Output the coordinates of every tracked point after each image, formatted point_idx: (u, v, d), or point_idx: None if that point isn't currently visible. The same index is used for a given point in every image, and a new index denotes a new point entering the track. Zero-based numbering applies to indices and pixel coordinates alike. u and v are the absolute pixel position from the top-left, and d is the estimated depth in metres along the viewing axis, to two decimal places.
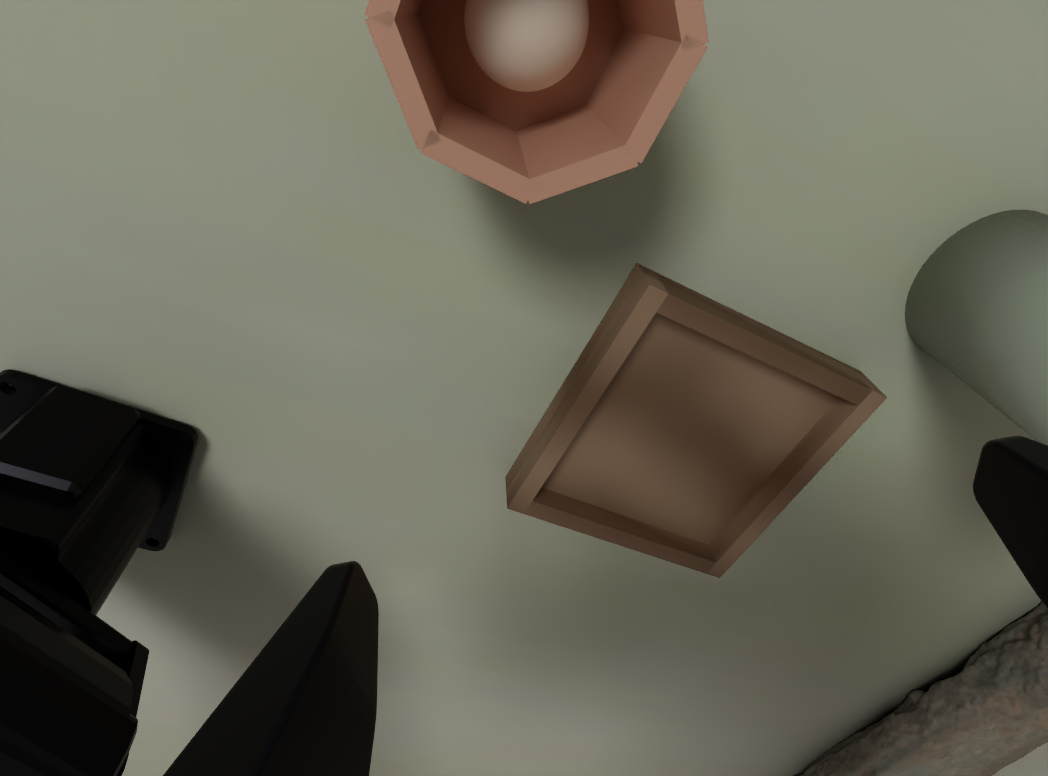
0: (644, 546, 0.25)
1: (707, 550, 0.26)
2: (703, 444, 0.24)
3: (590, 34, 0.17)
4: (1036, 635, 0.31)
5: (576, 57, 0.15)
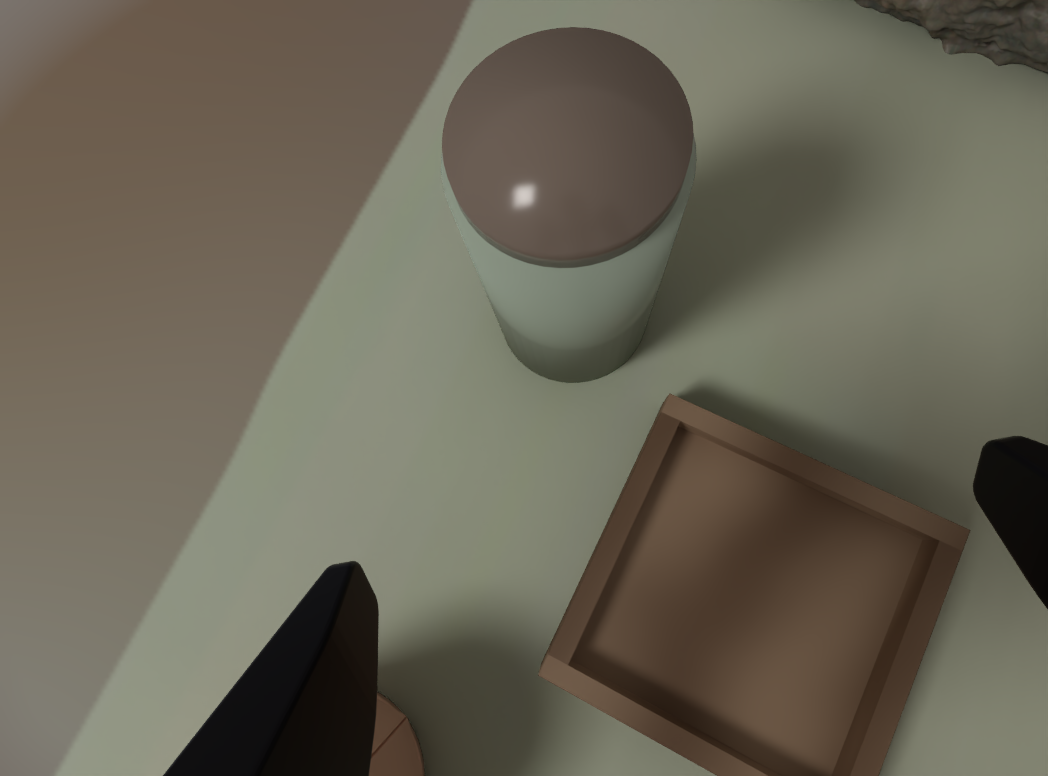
0: (913, 647, 0.19)
1: (926, 545, 0.20)
2: (752, 572, 0.21)
3: None
4: None
5: None
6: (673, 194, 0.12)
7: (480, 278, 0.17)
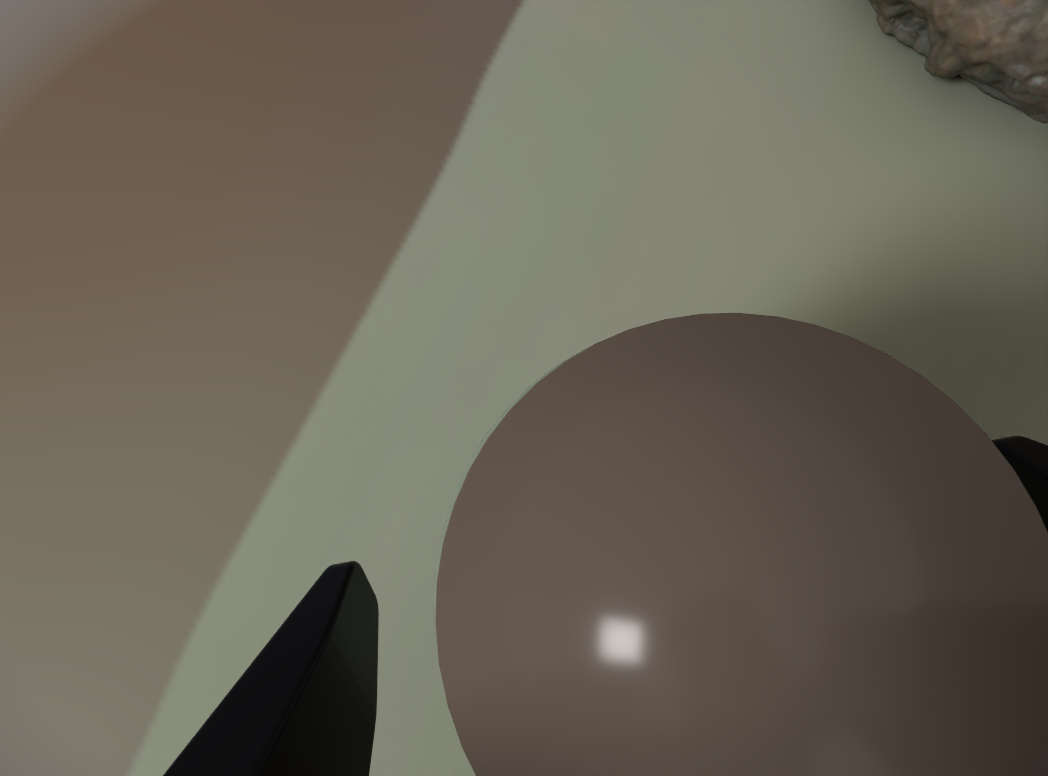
0: None
1: None
2: None
3: None
4: None
5: None
6: None
7: None
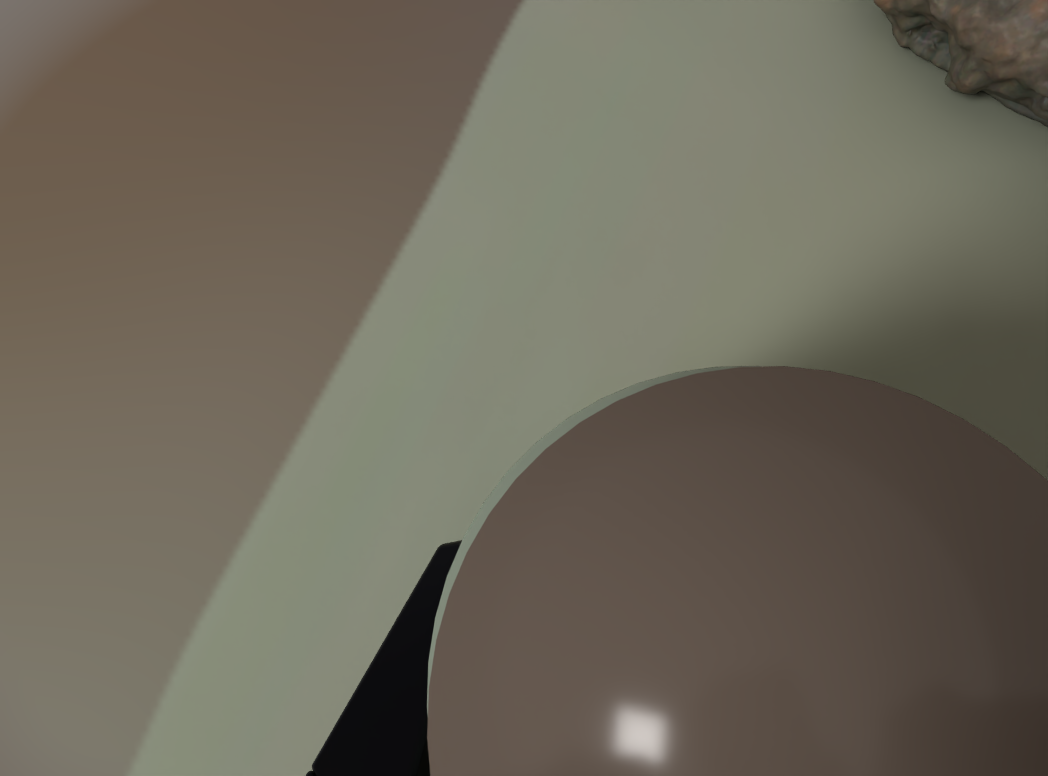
0: None
1: None
2: None
3: None
4: None
5: None
6: None
7: None
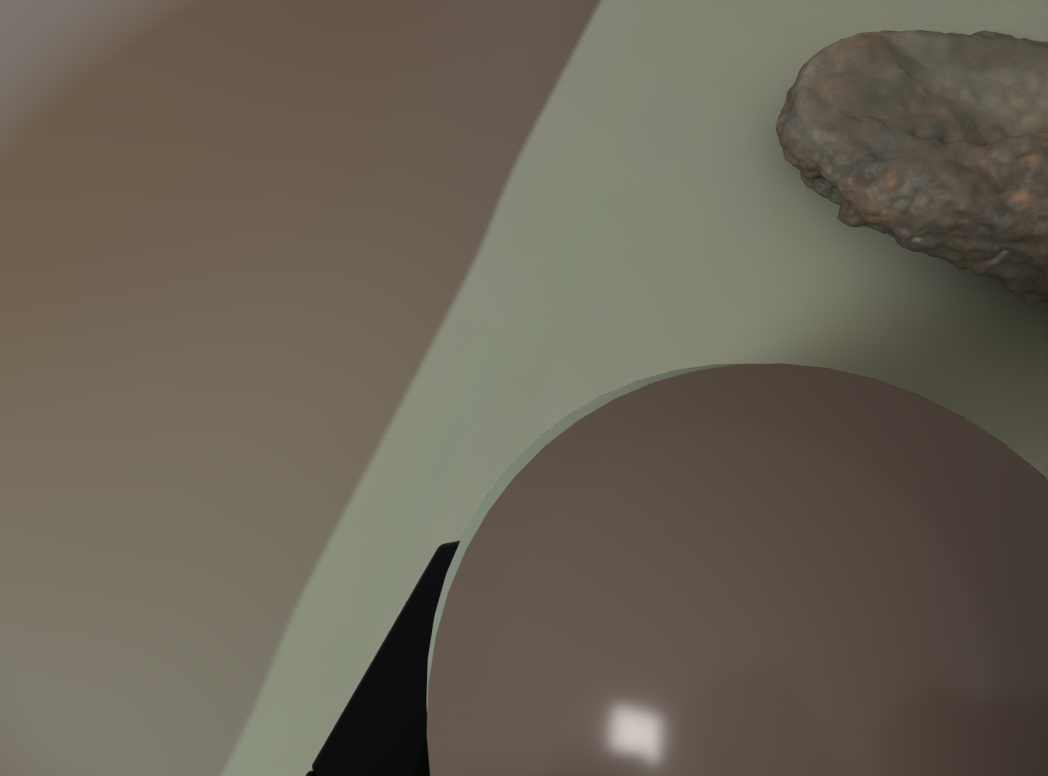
0: None
1: None
2: None
3: None
4: None
5: None
6: None
7: None
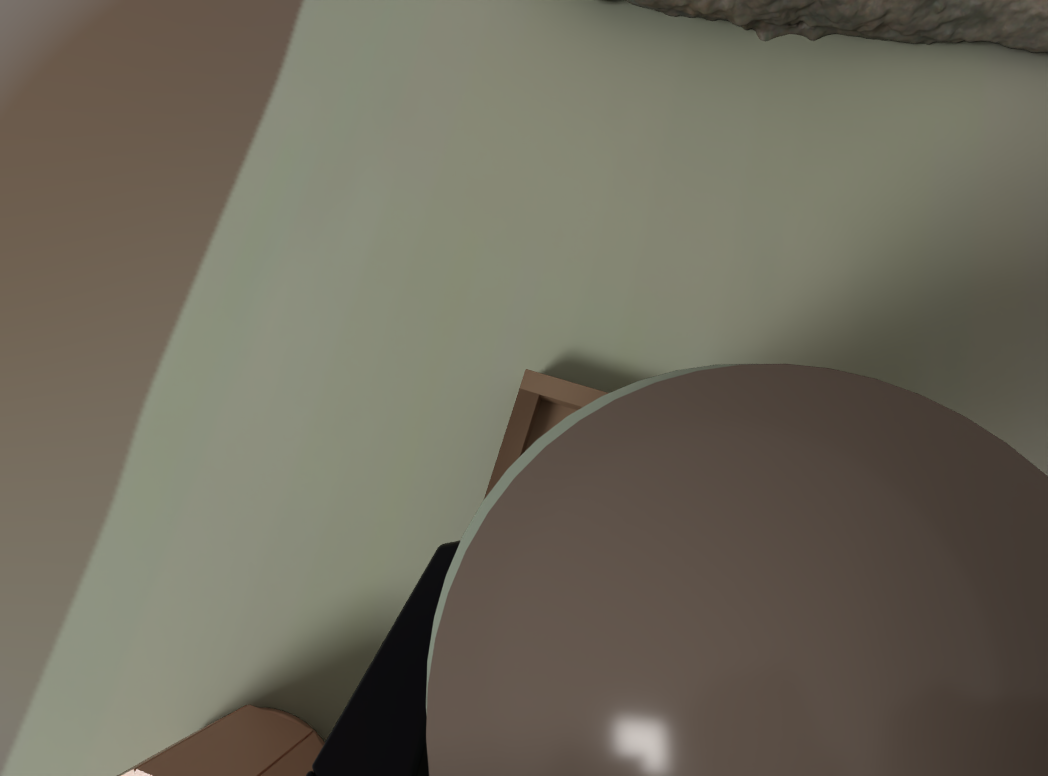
0: None
1: None
2: None
3: None
4: (872, 24, 0.23)
5: None
6: None
7: None
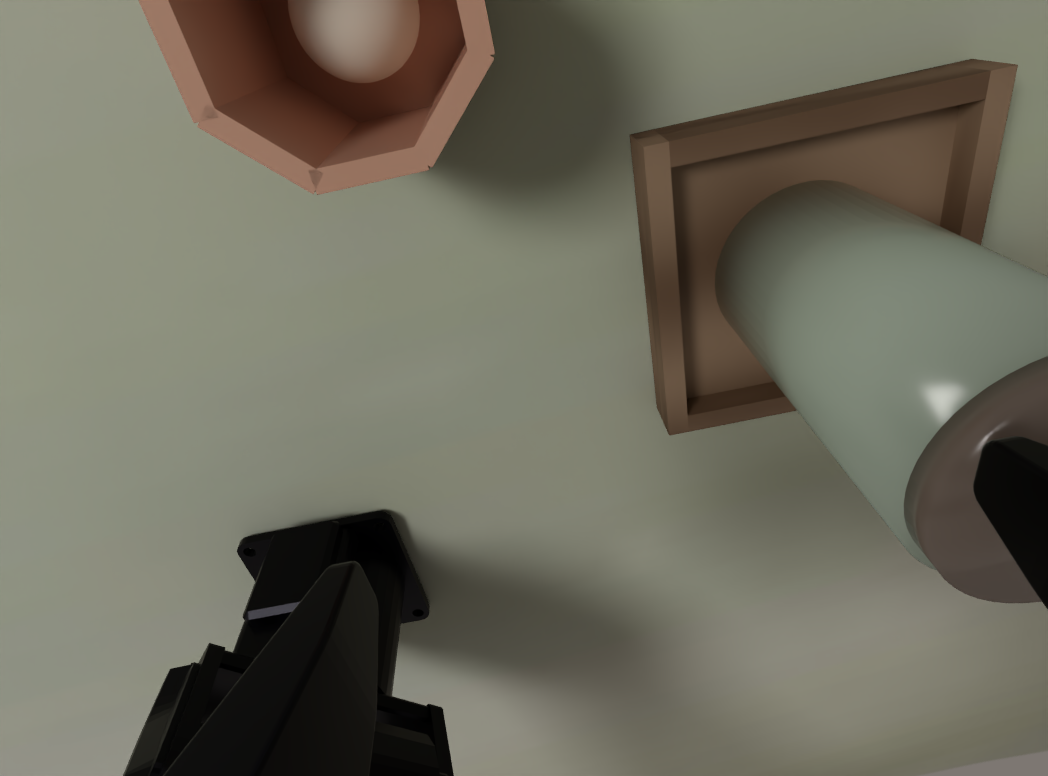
0: None
1: None
2: None
3: None
4: None
5: (409, 5, 0.14)
6: (1009, 602, 0.12)
7: (851, 317, 0.13)
